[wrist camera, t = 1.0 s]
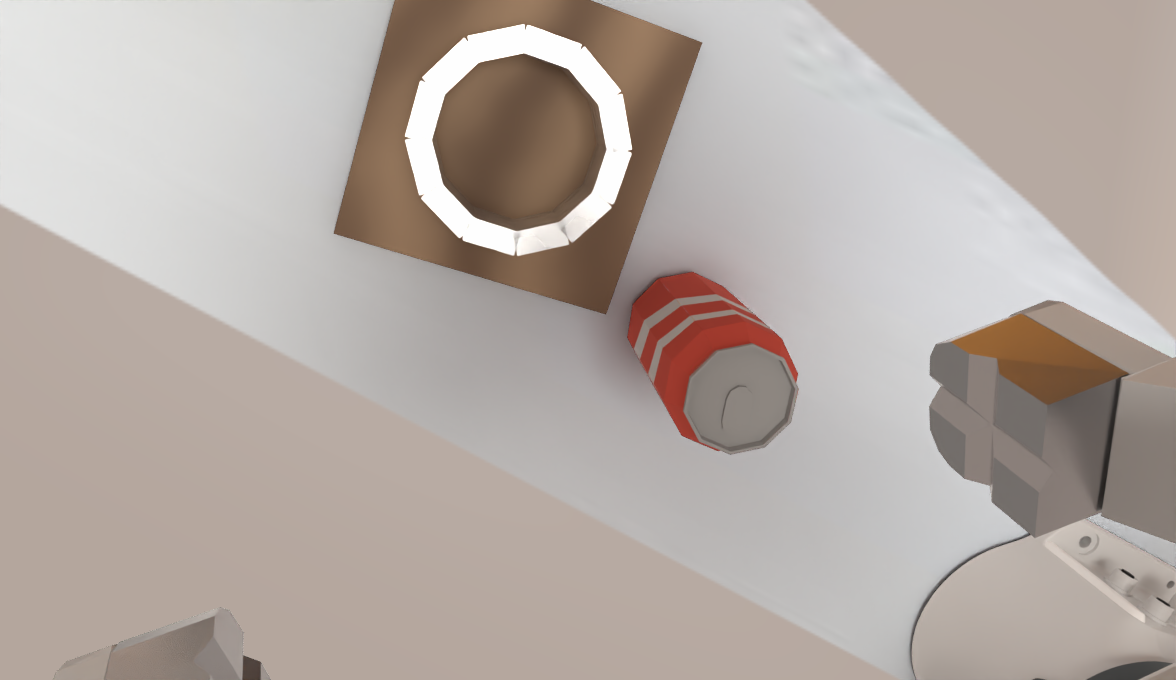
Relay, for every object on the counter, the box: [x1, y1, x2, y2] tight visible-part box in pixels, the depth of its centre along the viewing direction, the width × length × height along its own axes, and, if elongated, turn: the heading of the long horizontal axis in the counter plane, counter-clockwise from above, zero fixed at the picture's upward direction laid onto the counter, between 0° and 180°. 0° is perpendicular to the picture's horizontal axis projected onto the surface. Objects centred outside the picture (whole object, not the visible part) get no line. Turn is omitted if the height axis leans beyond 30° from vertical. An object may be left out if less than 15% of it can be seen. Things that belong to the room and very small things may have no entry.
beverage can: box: [627, 272, 798, 455], centre depth 44 cm, size 6×6×12 cm
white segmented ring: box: [405, 25, 632, 256], centre depth 43 cm, size 10×10×4 cm
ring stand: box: [334, 0, 702, 314], centre depth 45 cm, size 15×15×1 cm
